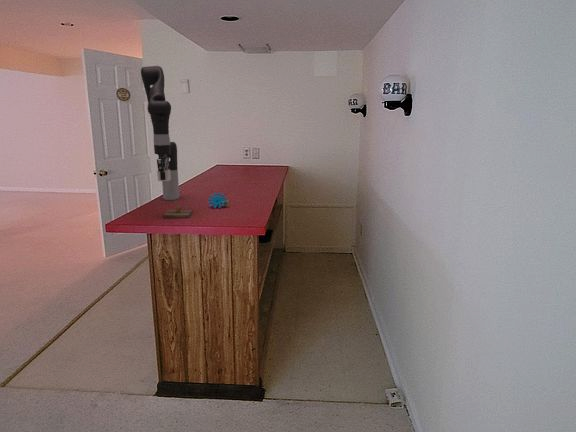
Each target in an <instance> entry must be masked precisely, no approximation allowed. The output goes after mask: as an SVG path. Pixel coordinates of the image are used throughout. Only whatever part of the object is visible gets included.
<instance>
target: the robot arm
mask: <svg viewBox="0 0 576 432" xmlns="http://www.w3.org/2000/svg"><path fill="white" fill-rule="evenodd" d="M140 75H141V80H142V84H143V88H144V91H145V94H146V99H147V112H148V114H149V116H150V119H151V124H152V131H153V151H154V154H155V155H157V156H158V158H157V159H156V165H157V171H159V172H160V179H161V180H165V170H167V169H170V174H171V180H169V181H161V184H162V196H163V197H162V198H163V200H165V201H173V200H179V199H180V185H179V171H178V169H179V168H178V146H177V143H176V142H175V141H171V137H170V132H169V131H170V130H169V122H170V121H169V120H170V117H171V113H172V111H171V110H172V105H171V103H170V102H169V101H167V100H166V95H165V74H164V70H163V68H162V67H161V66H160V65H151V66H143V67H141V69H140Z"/></svg>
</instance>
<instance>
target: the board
mask: <svg viewBox="0 0 576 432" xmlns="http://www.w3.org/2000/svg"><path fill="white" fill-rule="evenodd" d="M192 214H193V209H191V208H190V209H187V208H185V209H181V206H180V205H175V209H168V210H166V212H165V213H164V214H163V215H162V217H163V218H162V219H189V218H190V216H192Z"/></svg>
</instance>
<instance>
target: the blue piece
mask: <svg viewBox="0 0 576 432" xmlns="http://www.w3.org/2000/svg"><path fill="white" fill-rule="evenodd" d="M217 193H218V194H217ZM209 196H210V197H209V198H207V200H208V202H207V204H208V205H209V206H210V207H211V208H213V209H215V210H217V207H218V209H221V208H222V207H227V206H228V203H229V202H230V201H229V200H228V199H227V196H225V194H224V193H222V194H221V192H214V193H213V194H210V195H209Z"/></svg>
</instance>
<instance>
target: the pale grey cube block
mask: <svg viewBox="0 0 576 432" xmlns="http://www.w3.org/2000/svg"><path fill="white" fill-rule="evenodd" d="M156 173H157V181H158V182H162V181H169V180H171V174H170V169H167V170H165V180H161V179H160V172H159V171H158V170H156Z"/></svg>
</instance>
